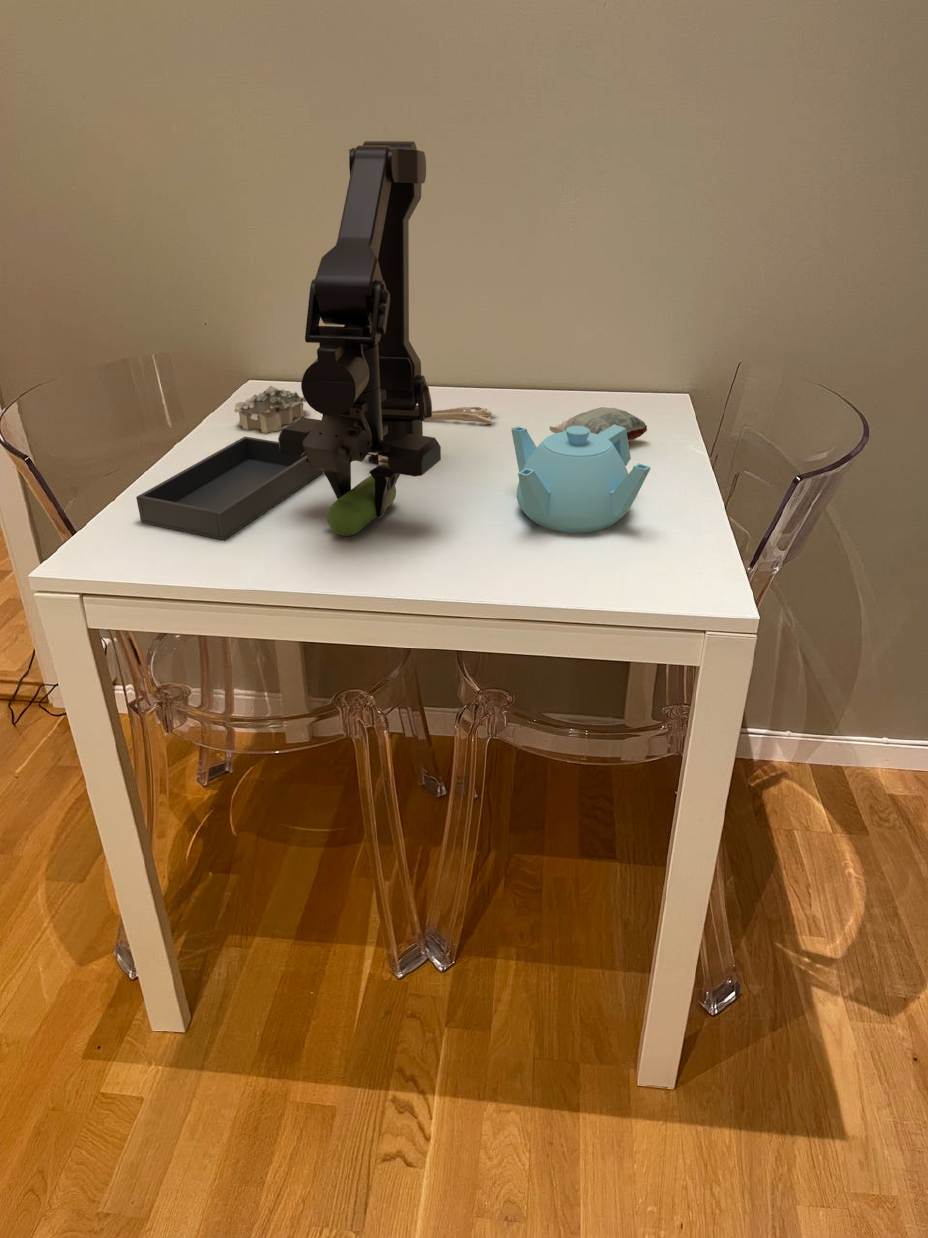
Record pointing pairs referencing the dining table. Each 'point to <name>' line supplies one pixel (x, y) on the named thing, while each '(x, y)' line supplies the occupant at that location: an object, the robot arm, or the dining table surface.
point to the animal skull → (462, 414)
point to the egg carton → (270, 409)
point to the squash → (355, 508)
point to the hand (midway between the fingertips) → (363, 512)
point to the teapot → (576, 478)
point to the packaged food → (605, 422)
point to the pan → (226, 489)
